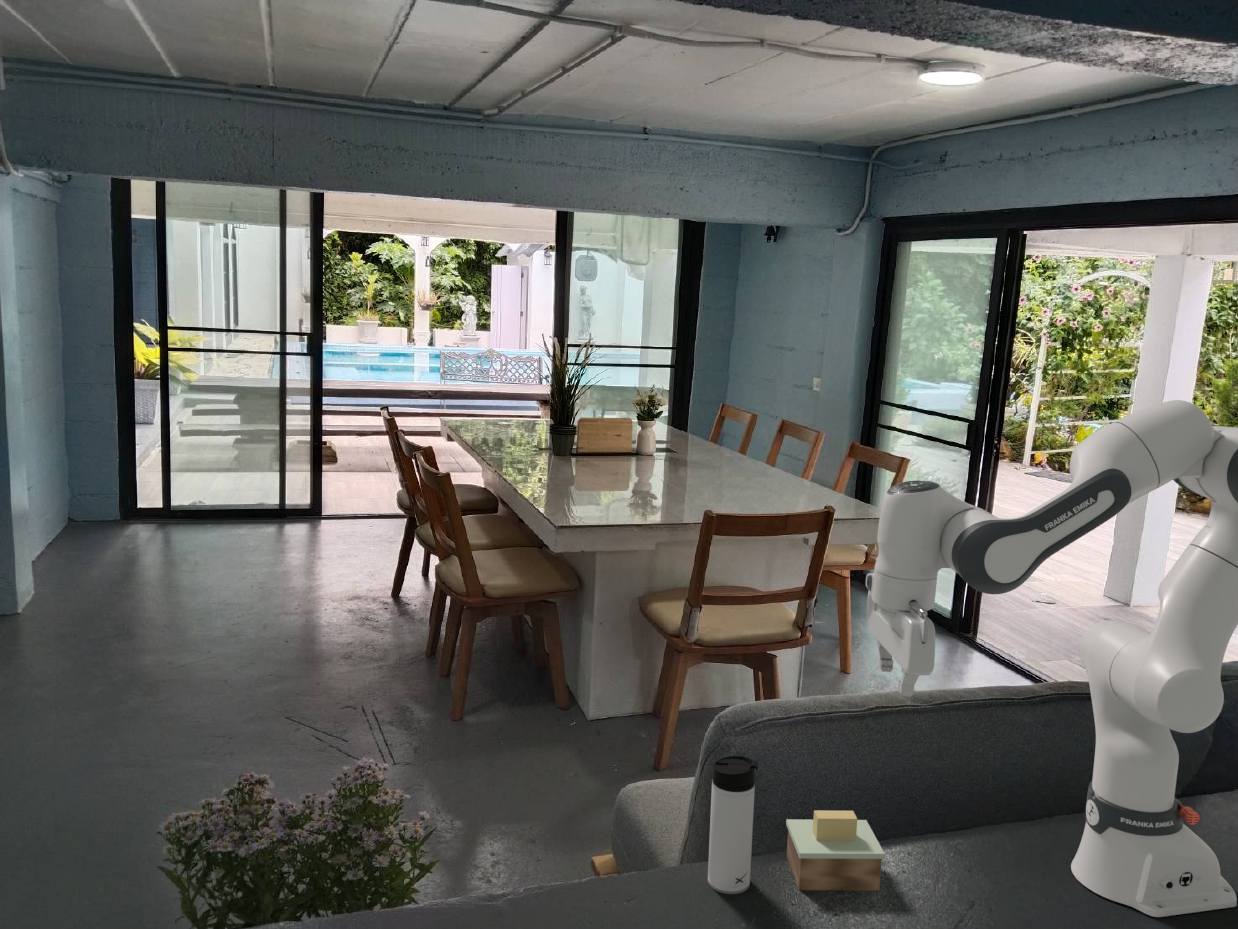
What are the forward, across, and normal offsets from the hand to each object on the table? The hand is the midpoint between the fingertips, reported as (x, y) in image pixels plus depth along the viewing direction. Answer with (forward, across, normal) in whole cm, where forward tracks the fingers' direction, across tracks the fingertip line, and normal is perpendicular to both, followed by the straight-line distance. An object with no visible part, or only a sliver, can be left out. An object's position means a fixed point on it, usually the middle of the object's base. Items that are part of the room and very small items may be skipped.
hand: (894, 682), depth 144 cm
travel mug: (+32, -2, +23) cm, 40 cm away
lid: (+26, 0, +7) cm, 27 cm away
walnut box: (+32, 0, +7) cm, 32 cm away
